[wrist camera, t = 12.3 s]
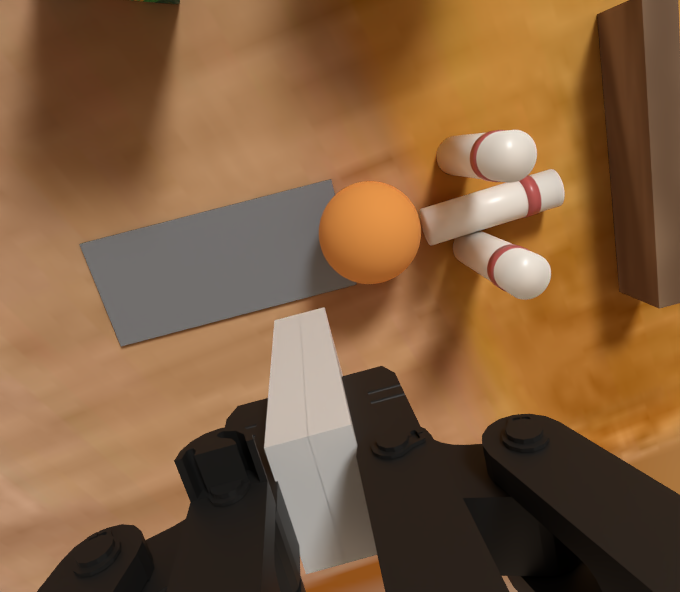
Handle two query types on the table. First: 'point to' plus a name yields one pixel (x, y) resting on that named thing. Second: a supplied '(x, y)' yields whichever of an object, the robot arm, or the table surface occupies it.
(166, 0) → the crayon box
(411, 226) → the ball
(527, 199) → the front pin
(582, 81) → the table surface
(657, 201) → the back wall
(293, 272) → the plate
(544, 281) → the pin
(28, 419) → the table surface
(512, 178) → the pin
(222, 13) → the table surface
